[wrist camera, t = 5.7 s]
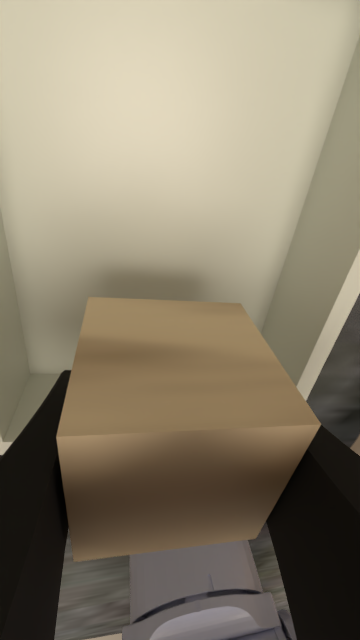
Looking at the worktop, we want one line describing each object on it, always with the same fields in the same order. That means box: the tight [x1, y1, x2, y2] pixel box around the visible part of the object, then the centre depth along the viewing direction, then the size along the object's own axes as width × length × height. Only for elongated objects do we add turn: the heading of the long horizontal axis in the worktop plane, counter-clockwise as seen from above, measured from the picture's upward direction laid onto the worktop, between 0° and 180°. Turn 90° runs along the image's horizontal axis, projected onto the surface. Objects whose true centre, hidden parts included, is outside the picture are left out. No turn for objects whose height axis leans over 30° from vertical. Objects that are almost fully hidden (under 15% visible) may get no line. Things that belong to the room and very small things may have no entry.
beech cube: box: [56, 297, 321, 562], centre depth 9 cm, size 5×5×5 cm
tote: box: [0, 0, 360, 455], centre depth 11 cm, size 18×14×5 cm
